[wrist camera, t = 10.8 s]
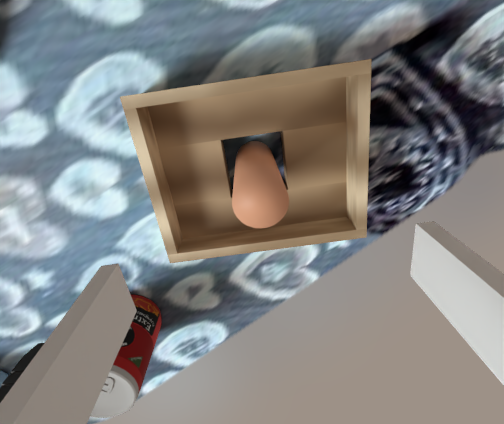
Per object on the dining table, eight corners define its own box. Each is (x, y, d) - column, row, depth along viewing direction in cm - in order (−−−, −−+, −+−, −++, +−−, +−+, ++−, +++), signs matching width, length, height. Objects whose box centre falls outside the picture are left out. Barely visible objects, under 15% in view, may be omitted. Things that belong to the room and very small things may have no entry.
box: (141, 93, 28) (119, 96, 23) (348, 62, 28) (371, 59, 23) (180, 236, 35) (170, 263, 30) (348, 214, 34) (366, 237, 29)
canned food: (169, 300, 39) (143, 376, 29) (156, 342, 42) (129, 424, 32) (110, 285, 38) (62, 360, 28) (101, 330, 41) (55, 411, 31)
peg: (233, 143, 31) (227, 179, 20) (271, 138, 31) (286, 171, 20) (238, 180, 32) (236, 231, 21) (275, 174, 32) (291, 224, 21)
